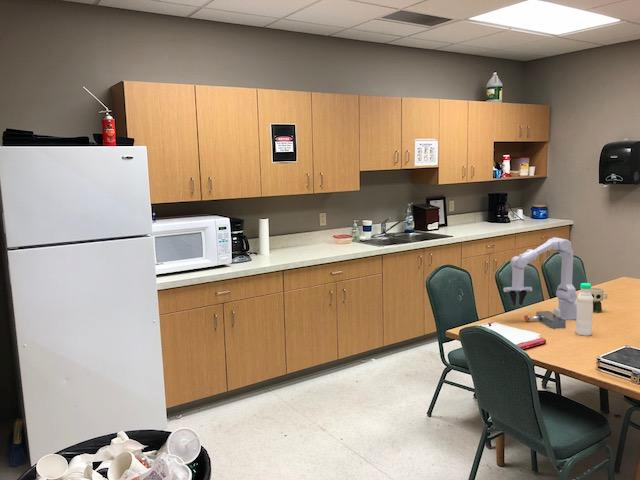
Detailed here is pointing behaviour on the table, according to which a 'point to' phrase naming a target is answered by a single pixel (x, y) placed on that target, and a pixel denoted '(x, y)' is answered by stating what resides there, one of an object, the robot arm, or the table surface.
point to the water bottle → (584, 310)
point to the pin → (532, 318)
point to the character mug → (597, 298)
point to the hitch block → (551, 319)
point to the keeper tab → (557, 312)
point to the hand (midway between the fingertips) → (517, 304)
